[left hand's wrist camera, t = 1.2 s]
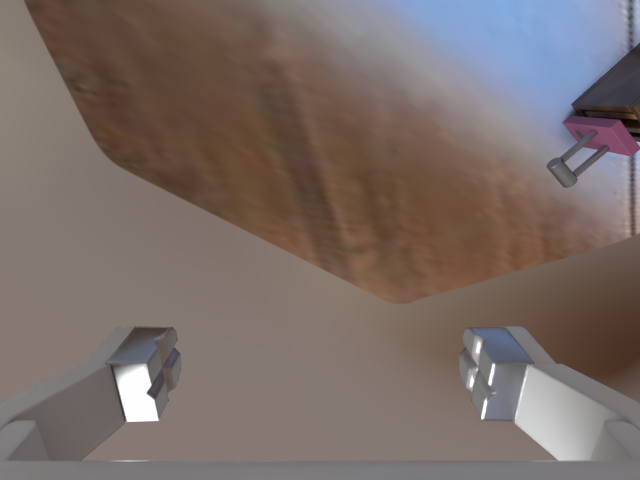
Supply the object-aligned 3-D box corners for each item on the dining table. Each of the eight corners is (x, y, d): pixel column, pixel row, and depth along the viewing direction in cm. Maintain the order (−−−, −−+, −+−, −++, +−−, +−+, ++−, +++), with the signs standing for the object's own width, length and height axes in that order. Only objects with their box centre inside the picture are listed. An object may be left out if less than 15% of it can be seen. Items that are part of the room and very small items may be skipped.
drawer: (541, 180, 51) (582, 196, 43) (522, 157, 50) (560, 169, 42) (691, 52, 45) (771, 42, 37) (673, 23, 44) (751, 7, 36)
